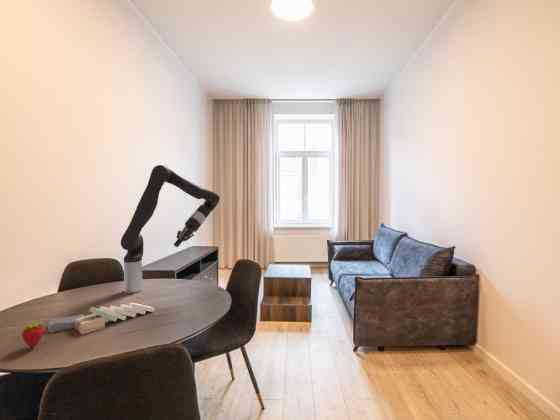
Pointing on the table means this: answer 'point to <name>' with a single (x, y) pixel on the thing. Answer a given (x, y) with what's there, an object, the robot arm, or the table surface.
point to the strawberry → (32, 334)
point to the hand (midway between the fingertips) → (175, 246)
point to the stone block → (63, 323)
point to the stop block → (89, 323)
